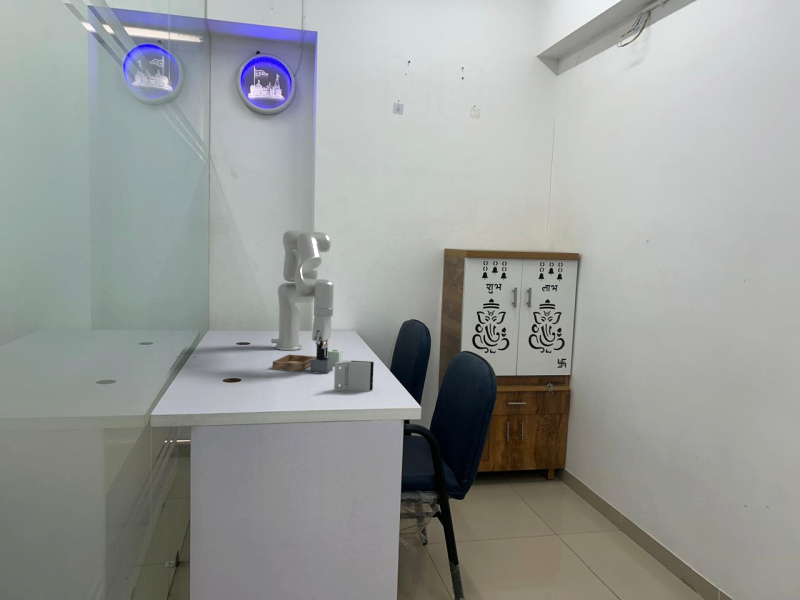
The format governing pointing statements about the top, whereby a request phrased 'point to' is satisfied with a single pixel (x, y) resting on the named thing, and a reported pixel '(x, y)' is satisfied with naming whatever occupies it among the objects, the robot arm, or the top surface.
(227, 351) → the top surface
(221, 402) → the top surface
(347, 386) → the hinge
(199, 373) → the top surface
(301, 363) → the tray
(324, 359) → the cylinder
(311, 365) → the block
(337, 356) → the pale green block
